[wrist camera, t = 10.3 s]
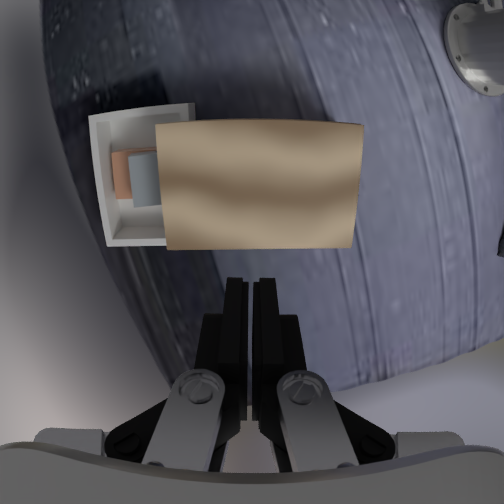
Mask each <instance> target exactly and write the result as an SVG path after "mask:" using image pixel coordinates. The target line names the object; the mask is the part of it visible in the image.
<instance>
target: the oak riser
mask: <svg viewBox="0 0 504 504" xmlns="http://www.w3.org/2000/svg"><path fill="white" fill-rule="evenodd" d="M155 129H156V145H157V158H158V171H159V182H160V192H161V202H162V211H163V220H164V229H165V237H166V244H167V250H210V249H295V248H351V246H352V239H353V232H354V225H355V217H356V209H357V200H358V192H359V182H360V172H361V160H362V148H363V134H364V125H361V124H356V123H345V122H333V121H318V120H298V119H213V120H193V121H178V122H166V123H159V124H155Z"/></svg>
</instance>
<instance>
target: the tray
mask: <svg viewBox="0 0 504 504" xmlns="http://www.w3.org/2000/svg"><path fill="white" fill-rule="evenodd" d="M193 120H195V103H183V104H171V105H160V106H151V107H143V108H135V109H127V110H120V111H114V112H108V113H102V114H96V115H91V116H89V128H90V139H91V149H92V158H93V166H94V174H95V181H96V188H97V194H98V201H99V207H100V212H101V218H102V223H103V229H104V234H105V239H106V243H107V247H108V246H162V245H167V244H166V237H165V229H164V220H163V211H162V205H154V206H145V207H136V208H134V204H133V199H116V195H115V186H114V177H113V166H112V155H111V153H112V152H114V151H116V150H118V149H130V148H143V147H157V145H156V129H155V124H159V123H166V122H178V121H193Z"/></svg>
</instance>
